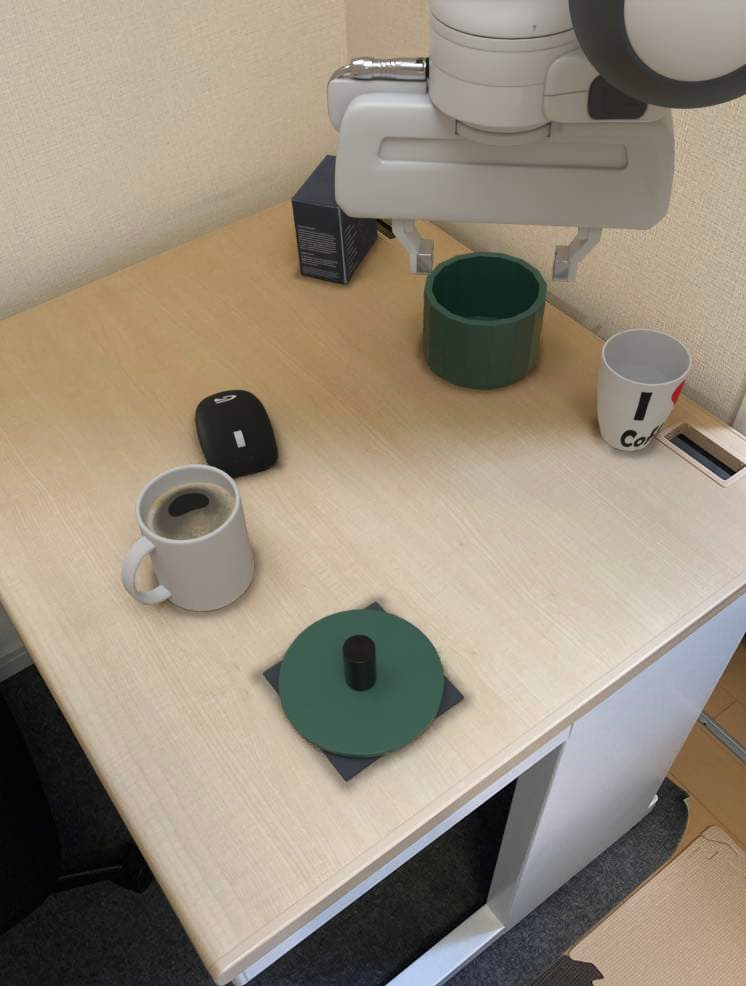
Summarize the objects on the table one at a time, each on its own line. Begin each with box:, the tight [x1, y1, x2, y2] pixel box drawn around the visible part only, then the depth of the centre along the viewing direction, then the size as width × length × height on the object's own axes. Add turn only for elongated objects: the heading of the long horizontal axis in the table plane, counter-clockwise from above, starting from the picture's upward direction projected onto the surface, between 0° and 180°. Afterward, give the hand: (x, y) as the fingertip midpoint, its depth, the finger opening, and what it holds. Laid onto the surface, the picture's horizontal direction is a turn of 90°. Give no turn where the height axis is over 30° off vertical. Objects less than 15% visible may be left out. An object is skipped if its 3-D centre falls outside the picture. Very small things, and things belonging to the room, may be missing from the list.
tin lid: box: [278, 608, 445, 758], centre depth 73 cm, size 14×14×6 cm
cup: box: [596, 328, 693, 452], centre depth 89 cm, size 8×8×10 cm
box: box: [290, 154, 379, 284], centre depth 110 cm, size 11×7×10 cm, turn 157°
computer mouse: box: [194, 389, 279, 479], centre depth 93 cm, size 8×12×4 cm, turn 18°
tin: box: [422, 251, 548, 390], centre depth 98 cm, size 13×13×8 cm
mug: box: [121, 463, 255, 612], centre depth 80 cm, size 11×10×10 cm
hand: (491, 273), depth 61 cm, fingers open, 8 cm apart
